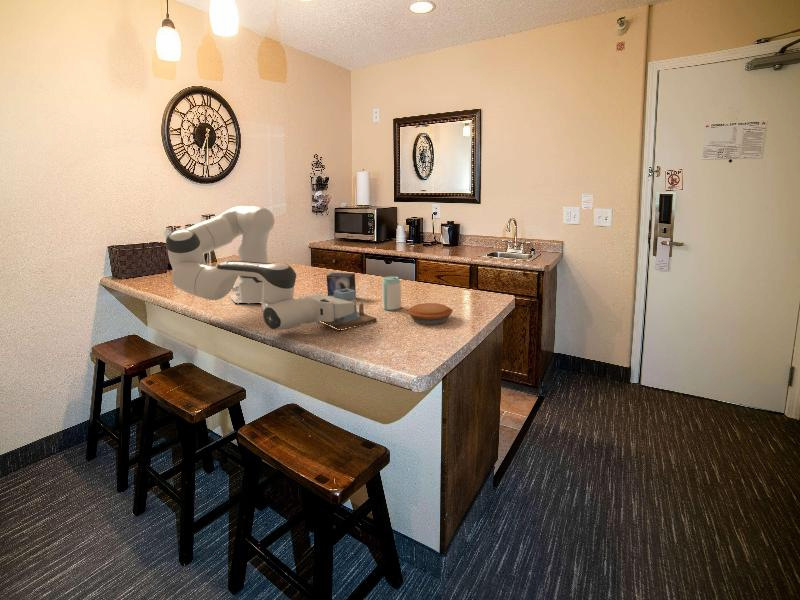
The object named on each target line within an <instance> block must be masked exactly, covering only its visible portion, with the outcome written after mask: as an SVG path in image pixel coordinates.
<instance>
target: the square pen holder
mask: <svg viewBox="0 0 800 600" xmlns="http://www.w3.org/2000/svg"><path fill="white" fill-rule="evenodd" d="M355 290H356V289H355ZM355 290H351V289H347V288H346V289H341V290H336V291H334V297H335V298H339V299H343V300H347V301H349V300H352V299H354V300H356V301H357V293H356V292H357V291H355ZM357 312H358V311H357V304H356V305H354V312H353V314H350V315H348V316H345V317H342V318H337V319H334V320H337V321H340V322H343V323H345V322H349V321H353V320H356V319H360V318H361V316H359V315H357Z"/></svg>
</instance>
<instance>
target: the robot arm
mask: <svg viewBox="0 0 800 600" xmlns="http://www.w3.org/2000/svg"><path fill="white" fill-rule="evenodd" d="M274 226H275V217H274V214H273V213H272V211H271V210H269V209H267V208H265V207H263V206H259V205H236V206H234V207H230V208H229V209H227V210H226V211H224V212H222V213H221V214H219V215H217V216H215V217H211V218H210V219H206V220H204V221H201V222H199V223H196V224H194V225H191V226H189V227H187V228H180V229H176V230H173V231H171V232H170V233H169V234H168V235H167V236H166V240H165V247H166V249H167V255H168V260H169V264H170V265H171V270H172V273H171V281H172V284H173V286H175V288H177V289H178V290H181V291H182V292H184V293H186V294H189V295H191V296H194V297H198V298H200V299H204V300H208V301H219V300H221V299H223V298H225V297H227V295H228V294H229V293H230V292H231V291H232V293H233V294H230V295H229V298H230V300H231V301H232V300H233V301H234V302H235V303H260V302H262V303H260V304H261V311H262V313H263V314H262V315H263V321H264V323H265V324H266V325H267V327H268V328H269V329H271V330H273V331H274V330H275V331H276V330H277V331H281V330H282V331H283V330H289V329H293V328H296V327H300V326H301V325H303V324H312V323H319V321H322V322H332V321H334V319H337V318H342V317H345V316H348V315H350V314H353V312H354V305H356V306H357V299H356V300H354V299H352V300H349V301H347V300H343V299H339V298H335V297H334V296H328V294H327V295H326V294H322V293H313V294H307V295H304V296H300V297H299V298H294V292H295V290H294V289H295V285H296V278H297V273H296V271H295V270H294V269H293V267H292V266H291V265H289V264H288V263H285V262H268V250H267V249H268V246H267V245H268V239H269V235H270V232H271V230H272V229H273V228H274ZM239 236H242V239H241V244H240V246H239V247H238V249H237V250H238V251H237V252H238V260H225V261H222V262H219V263H218V264H217V266H214V265H213V266H212V265H210V264H209V265H208V264H206V258H205V254H208V253H210V252H213V251H215V250H218V249H219V248H222V247H225V246H227V245H229V244H231V243H233V241H234V240H235V239H237V238H238V237H239ZM233 301H232V302H233ZM234 302H233V303H234ZM235 303H234V304H235Z"/></svg>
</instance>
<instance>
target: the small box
mask: <svg viewBox="0 0 800 600" xmlns="http://www.w3.org/2000/svg"><path fill="white" fill-rule="evenodd" d="M346 288H347V289H351V290H355V291H356V273H355V272H354V273H351V272H350V273H349V272H331V273H329V274H327V275H326V289H327V296H334V291H336V290H341V289H346ZM356 292H357V291H356Z"/></svg>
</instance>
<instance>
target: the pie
mask: <svg viewBox="0 0 800 600" xmlns="http://www.w3.org/2000/svg"><path fill="white" fill-rule="evenodd" d="M452 313H453V309H452V308H451V307H449V306H447V305H445V304H442V303H434V302H428V303H426V302H425V303H419V304H416V305H413V306H411V307H409V309H408V310H407V314H408V315H409V316H410V317H411V319H412V321H414V323H417V324H418V323H419V325H423V324H425V325H426V326H434V325H435V326H436V324H437V325H441V324H444V323H446V322H447V320H448V318H449V317H450V316H451V315H452ZM425 325H424V326H425Z"/></svg>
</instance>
